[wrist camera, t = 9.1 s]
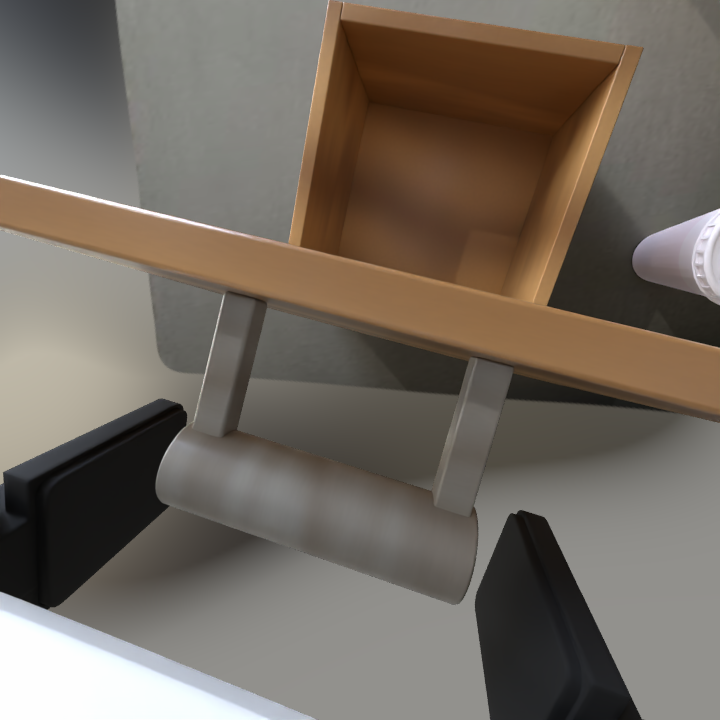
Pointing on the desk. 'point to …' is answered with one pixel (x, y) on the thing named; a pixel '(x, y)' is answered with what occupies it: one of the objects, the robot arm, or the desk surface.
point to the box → (455, 146)
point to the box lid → (373, 317)
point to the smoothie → (684, 256)
